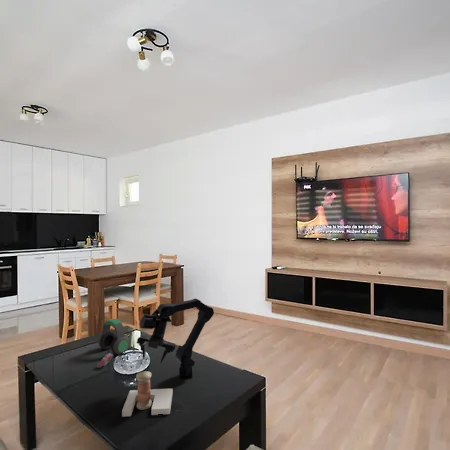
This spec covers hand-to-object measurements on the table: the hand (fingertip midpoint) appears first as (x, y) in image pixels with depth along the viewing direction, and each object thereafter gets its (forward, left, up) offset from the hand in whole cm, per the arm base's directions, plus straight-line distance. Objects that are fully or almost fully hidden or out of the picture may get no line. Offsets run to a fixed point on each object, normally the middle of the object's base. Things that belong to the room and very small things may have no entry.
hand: (152, 360), depth 161 cm
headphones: (+30, -44, -13) cm, 55 cm away
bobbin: (+1, +17, -13) cm, 21 cm away
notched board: (-1, +16, -13) cm, 21 cm away
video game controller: (+30, -26, -13) cm, 42 cm away
